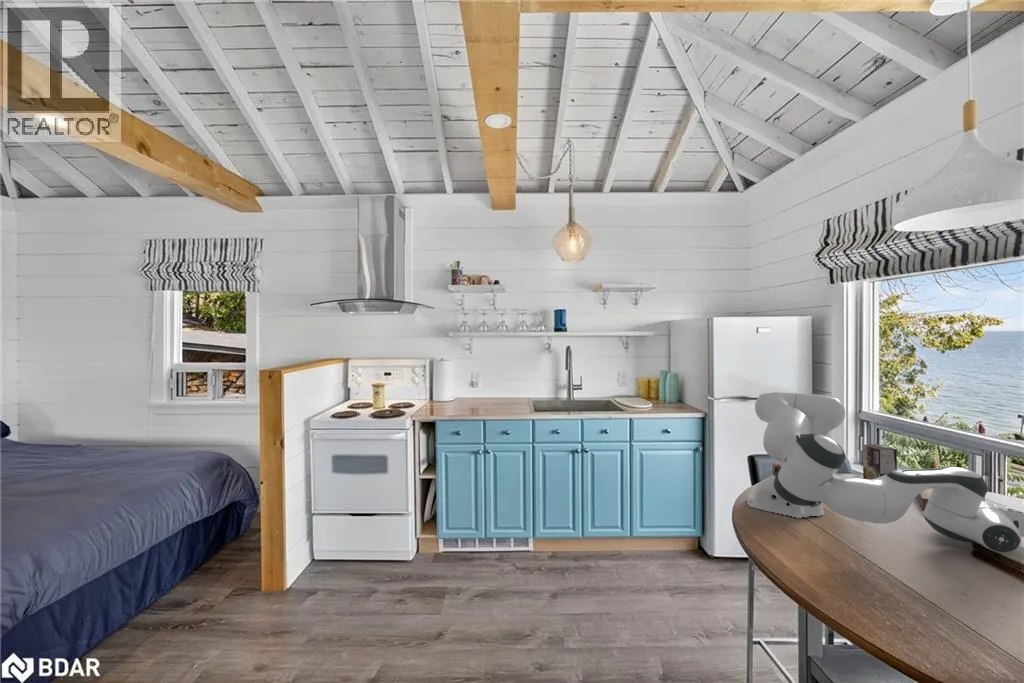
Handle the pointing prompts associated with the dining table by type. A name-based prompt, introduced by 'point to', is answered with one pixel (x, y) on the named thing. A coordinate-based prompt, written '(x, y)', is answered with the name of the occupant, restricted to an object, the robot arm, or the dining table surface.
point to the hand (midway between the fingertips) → (972, 503)
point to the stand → (924, 497)
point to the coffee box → (878, 460)
